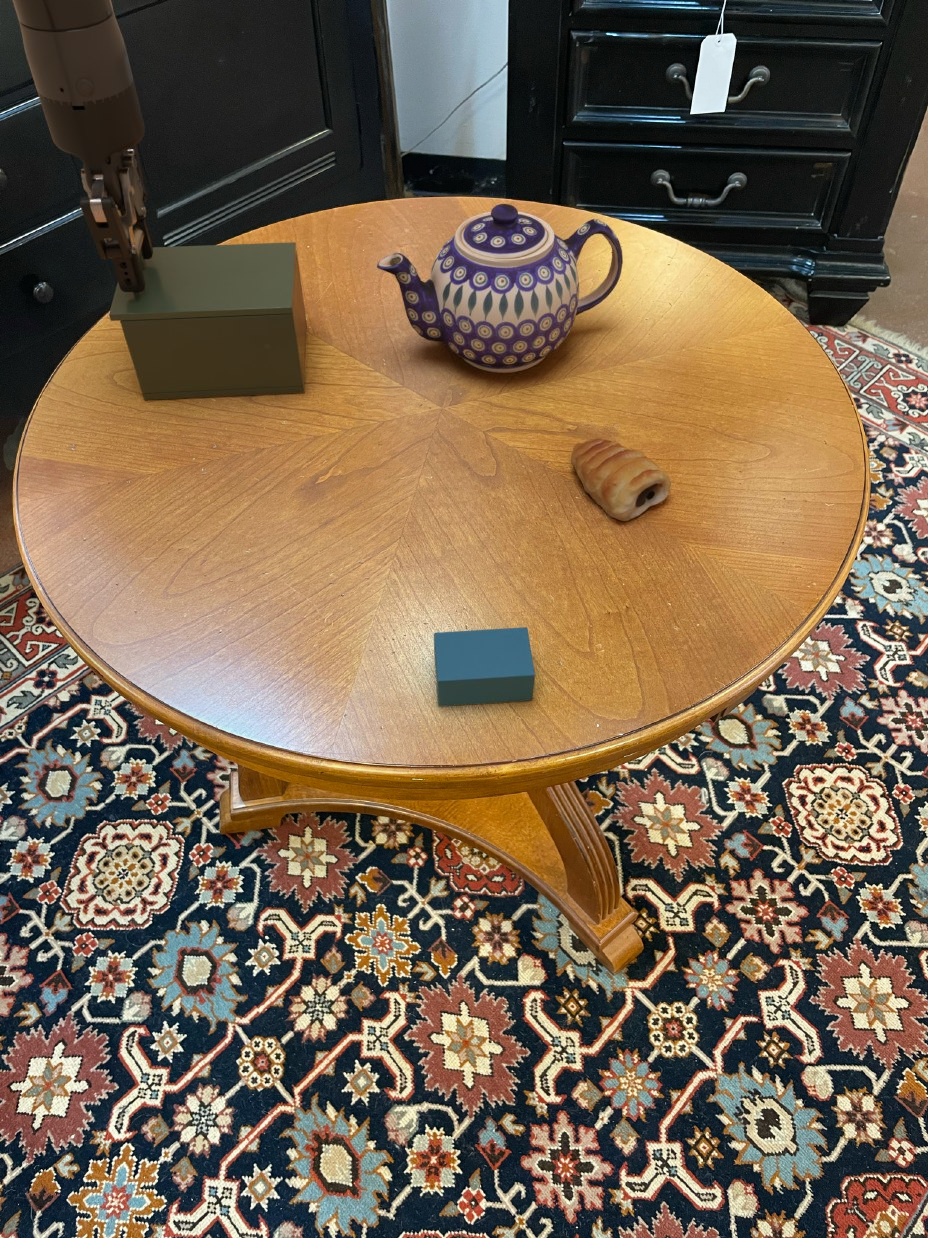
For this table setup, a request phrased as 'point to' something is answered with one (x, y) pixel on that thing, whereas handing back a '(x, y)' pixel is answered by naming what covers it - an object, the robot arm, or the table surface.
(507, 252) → the teapot
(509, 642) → the blue rectangular block
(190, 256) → the lid
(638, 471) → the pastry
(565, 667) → the table surface
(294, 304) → the bin
